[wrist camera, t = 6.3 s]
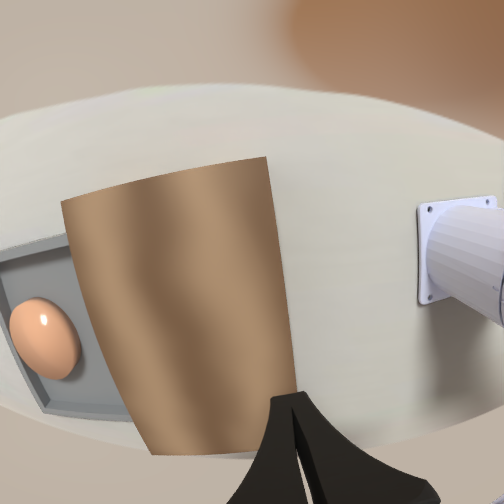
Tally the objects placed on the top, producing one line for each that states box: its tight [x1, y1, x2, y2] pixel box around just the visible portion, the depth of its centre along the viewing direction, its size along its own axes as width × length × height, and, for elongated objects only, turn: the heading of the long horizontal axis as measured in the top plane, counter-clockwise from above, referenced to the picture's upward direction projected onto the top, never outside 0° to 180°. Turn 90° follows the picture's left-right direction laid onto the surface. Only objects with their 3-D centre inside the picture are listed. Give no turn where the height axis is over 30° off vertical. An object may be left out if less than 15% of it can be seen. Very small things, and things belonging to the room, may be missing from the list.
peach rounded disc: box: [10, 297, 81, 380], centre depth 19 cm, size 7×7×2 cm
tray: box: [0, 233, 133, 422], centre depth 20 cm, size 12×16×2 cm
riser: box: [61, 157, 297, 455], centre depth 19 cm, size 12×20×4 cm, turn 9°
